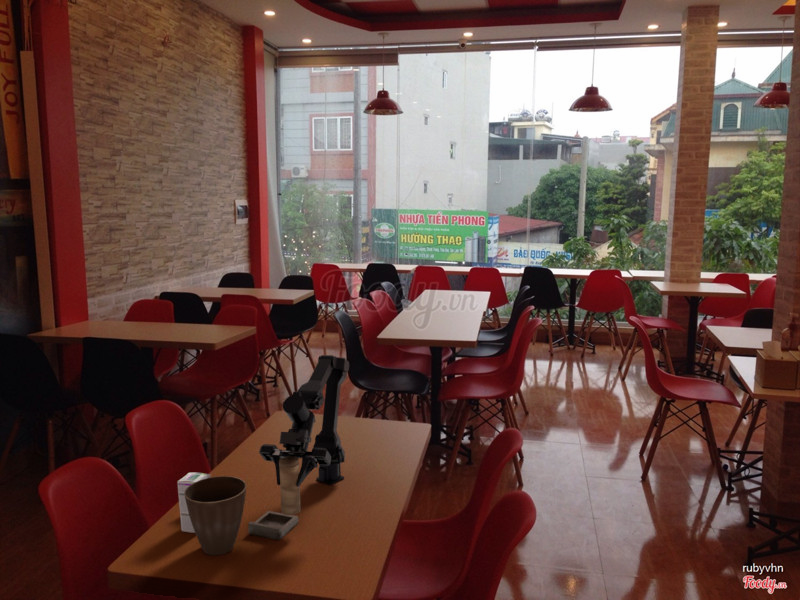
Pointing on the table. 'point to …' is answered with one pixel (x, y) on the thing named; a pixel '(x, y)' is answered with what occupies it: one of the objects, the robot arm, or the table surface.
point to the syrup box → (182, 486)
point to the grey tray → (273, 525)
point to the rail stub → (289, 485)
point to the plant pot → (216, 511)
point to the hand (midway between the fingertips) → (287, 485)
